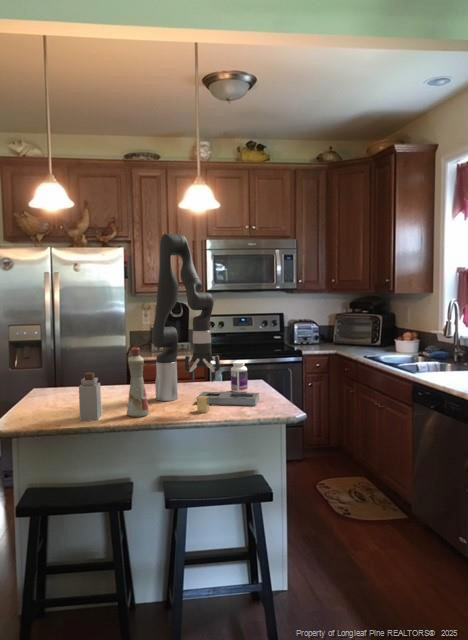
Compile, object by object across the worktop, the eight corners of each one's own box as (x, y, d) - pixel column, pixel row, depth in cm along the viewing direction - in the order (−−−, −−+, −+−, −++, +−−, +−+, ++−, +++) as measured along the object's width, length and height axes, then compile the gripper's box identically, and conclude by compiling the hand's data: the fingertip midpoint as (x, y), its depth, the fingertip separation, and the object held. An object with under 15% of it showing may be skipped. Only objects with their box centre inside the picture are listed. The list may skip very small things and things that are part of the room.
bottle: (124, 413, 209) (122, 345, 207) (146, 411, 213) (144, 344, 211) (129, 418, 201) (126, 348, 199) (151, 416, 205) (149, 346, 203)
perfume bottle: (101, 415, 207) (99, 371, 206) (97, 420, 200) (95, 374, 199) (84, 416, 207) (82, 372, 206) (80, 420, 200) (78, 375, 199)
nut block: (197, 412, 210) (197, 398, 209) (199, 410, 214) (199, 395, 213) (206, 412, 209) (206, 398, 209) (209, 410, 213) (208, 396, 213)
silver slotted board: (196, 404, 224) (196, 397, 224) (203, 398, 236) (203, 391, 236) (255, 405, 219) (255, 398, 219) (259, 399, 231) (259, 392, 231)
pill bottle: (248, 389, 253) (247, 360, 252) (247, 393, 245) (246, 363, 244) (232, 389, 254) (231, 360, 252) (230, 393, 246) (229, 363, 245)
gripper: (182, 342, 207) (183, 382, 208) (216, 342, 204) (217, 382, 205) (187, 340, 214) (188, 379, 215) (220, 340, 212) (221, 379, 213)
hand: (202, 380), depth 210 cm, fingers open, 8 cm apart
